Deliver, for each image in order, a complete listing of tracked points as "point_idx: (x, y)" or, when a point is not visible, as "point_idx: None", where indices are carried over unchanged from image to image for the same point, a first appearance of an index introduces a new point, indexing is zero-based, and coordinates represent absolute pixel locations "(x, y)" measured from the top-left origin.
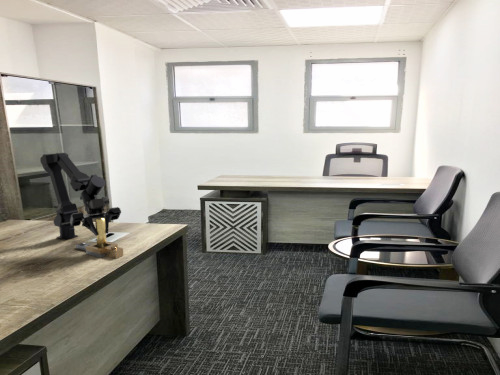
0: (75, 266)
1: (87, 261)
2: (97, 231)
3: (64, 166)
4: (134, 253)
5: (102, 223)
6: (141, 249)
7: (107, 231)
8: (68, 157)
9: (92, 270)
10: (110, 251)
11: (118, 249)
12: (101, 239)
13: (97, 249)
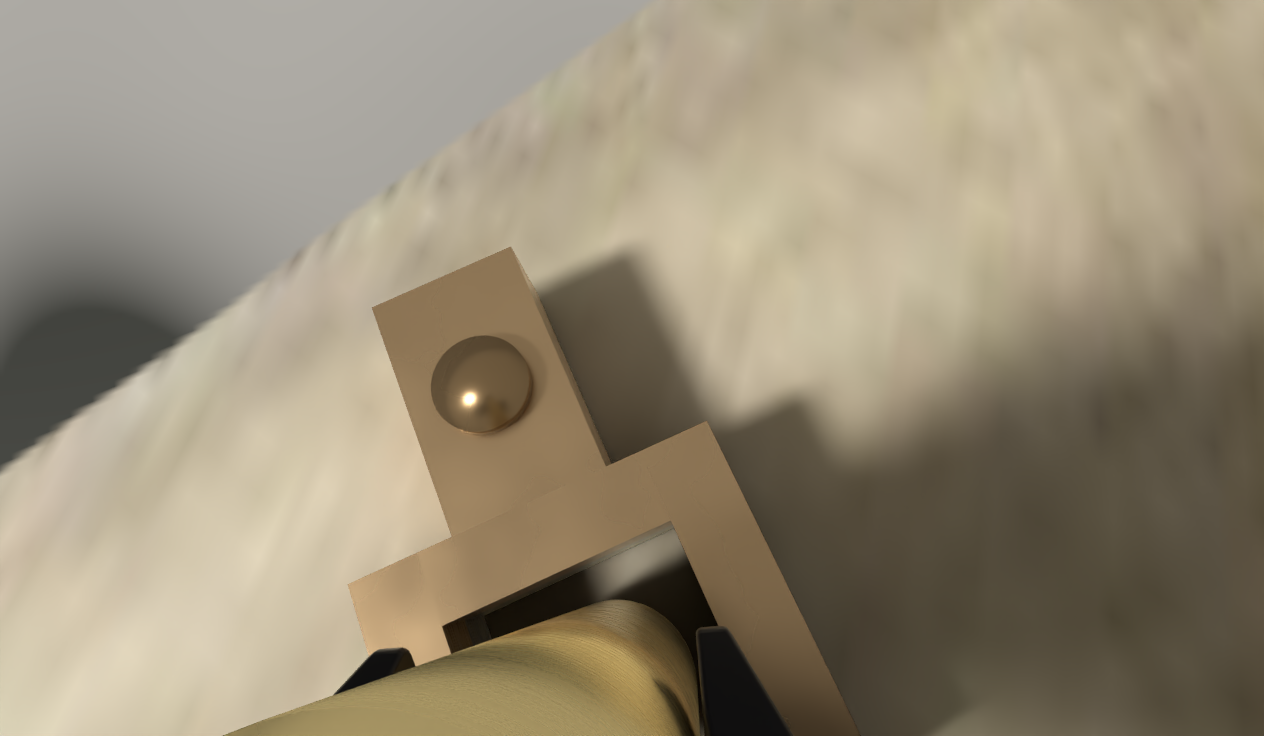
0: (1066, 315)
1: (894, 419)
2: (677, 711)
3: None
4: (266, 372)
5: (413, 667)
6: (112, 481)
7: (384, 661)
8: None
9: (882, 82)
10: (561, 359)
11: (450, 287)
12: (611, 618)
13: (736, 490)
